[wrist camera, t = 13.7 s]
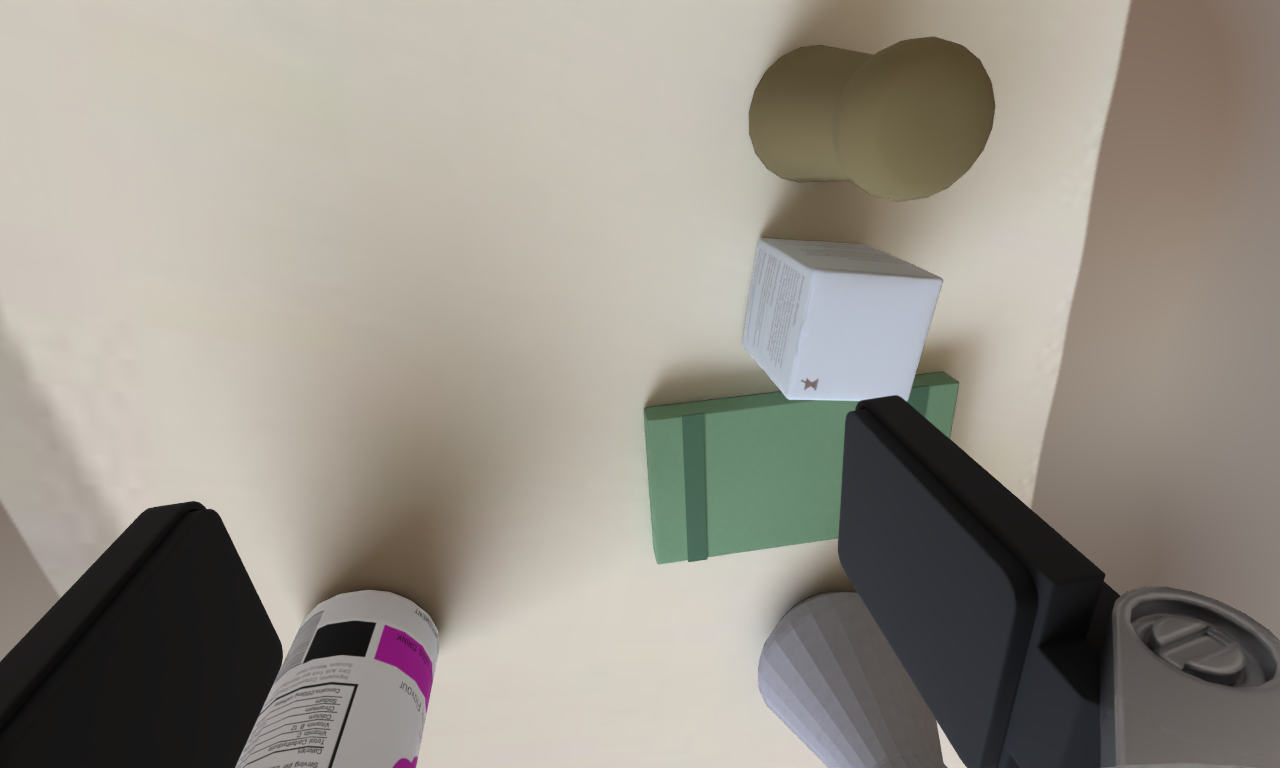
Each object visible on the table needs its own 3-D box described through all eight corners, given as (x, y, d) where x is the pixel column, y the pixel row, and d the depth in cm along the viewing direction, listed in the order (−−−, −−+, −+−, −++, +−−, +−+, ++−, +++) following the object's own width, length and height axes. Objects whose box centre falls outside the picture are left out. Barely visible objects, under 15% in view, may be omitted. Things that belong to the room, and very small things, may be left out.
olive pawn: (811, 14, 28) (955, -34, 18) (894, 107, 30) (1063, 110, 20) (722, 126, 30) (811, 139, 20) (808, 207, 32) (926, 256, 22)
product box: (841, 349, 35) (909, 407, 29) (738, 345, 34) (783, 403, 28) (867, 241, 33) (948, 277, 26) (757, 233, 32) (812, 267, 25)
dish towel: (643, 406, 35) (647, 420, 34) (943, 370, 37) (961, 381, 35) (653, 548, 39) (657, 566, 38) (922, 510, 41) (936, 525, 40)
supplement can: (458, 601, 39) (412, 866, 26) (416, 691, 42) (354, 975, 28) (323, 566, 37) (194, 839, 23) (288, 664, 39) (152, 961, 26)
